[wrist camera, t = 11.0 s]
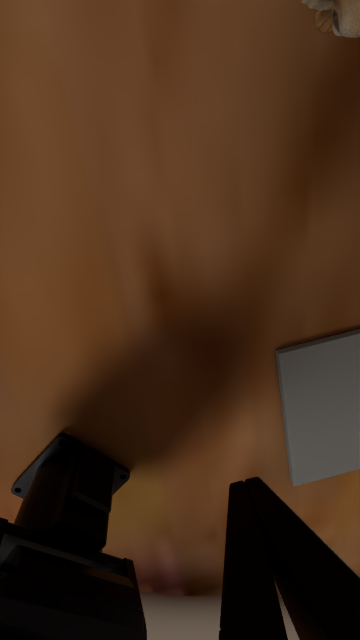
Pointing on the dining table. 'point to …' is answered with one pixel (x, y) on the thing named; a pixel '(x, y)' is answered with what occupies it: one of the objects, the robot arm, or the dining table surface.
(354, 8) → the lion figurine
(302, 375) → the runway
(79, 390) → the dining table surface
